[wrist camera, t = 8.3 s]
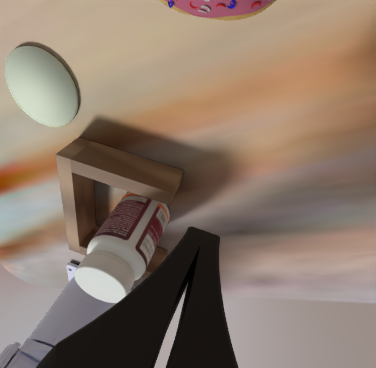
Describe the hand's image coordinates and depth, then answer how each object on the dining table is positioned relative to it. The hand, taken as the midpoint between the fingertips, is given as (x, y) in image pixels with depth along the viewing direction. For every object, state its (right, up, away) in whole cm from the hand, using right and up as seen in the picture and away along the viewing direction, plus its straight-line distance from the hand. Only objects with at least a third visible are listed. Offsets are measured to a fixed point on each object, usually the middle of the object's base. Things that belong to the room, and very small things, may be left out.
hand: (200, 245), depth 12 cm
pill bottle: (-4, 0, +14) cm, 14 cm away
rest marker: (-12, +10, +9) cm, 18 cm away
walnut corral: (-6, +1, +14) cm, 15 cm away
